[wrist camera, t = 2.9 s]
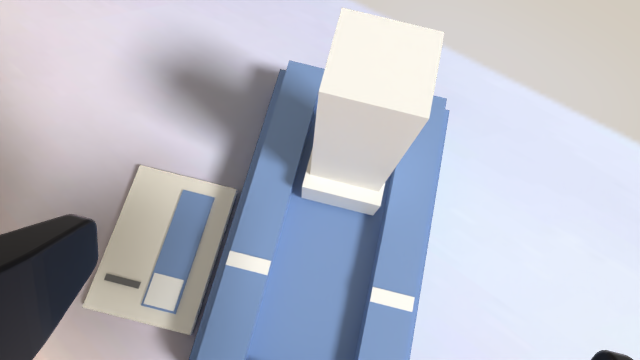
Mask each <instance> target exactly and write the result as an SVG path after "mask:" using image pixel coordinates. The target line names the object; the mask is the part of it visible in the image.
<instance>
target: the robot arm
mask: <svg viewBox="0 0 640 360" xmlns="http://www.w3.org/2000/svg"><path fill="white" fill-rule="evenodd" d="M97 260H98V242H97V227H96V223H95V221H94V220H92V219H90V218H86V217H82V216H78V215H74V214H68V215H64V216H61V217H58V218H55V219H51V220H48V221H45V222H41V223H38V224H35V225H31V226H28V227H25V228H21V229H18V230H15V231H11V232H8V233H5V234H1V235H0V360H33V358H34V357H35V356H36V354H37V353H38V352H39V351H40V349H41V348H42V347H43V345H44V344H45V343H46V341H47V340H48V338H49V337H50V335H51V334H52V333H53V331H54V330H55V328H56V326H57V325H58V323H59V322H60V320H61V319H62V317H63V316H64V314H65V313H66V311H67V310H68V308H69V307H70V305H71V304H72V302H73V301H74V299H75V298H76V296H77V294H78V293H79V291H80V290H81V288H82V287H83V285H84V284H85V282H86V281H87V279H88V278H89V276H90V275H91V273H92V272H93V270H94V268H95V266H96V264H97ZM591 360H633V359H632V358H630V357H628V356H626V355H624V354H620V353H616V352H612V351H608V350H601V351H599V352H597V353H596V354H595V355H594V356H593V358H592V359H591Z"/></svg>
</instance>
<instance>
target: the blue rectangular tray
mask: <svg viewBox="0 0 640 360" xmlns="http://www.w3.org/2000/svg"><path fill="white" fill-rule="evenodd" d="M324 70H325V69H323V68H318V67H314V66H310V65H306V64H302V63H298V62H294V61H290V60H289V63H288V67H287V70H286V71H285V70H281V69H280V72H279V75H278V78H277V82H276V85H275V88H274V91H273V94H272V97H271V101H270V104H269V107H268V110H267V113H266V116H265V120H264V123H263V126H262V129H261V132H260V135H259V139H258V142H257V145H256V148H255V151H254V154H253V158H252V161H251V164H250V167H249V170H248V173H247V177H246V180H245V183H244V186H243V189H242V192H241V196H240V199H239V202H238V205H237V208H236V211H235V215H234V218H233V221H232V224H231V227H230V230H229V234H228V237H227V240H226V243H225V246H224V249H223V253H222V256H221V259H220V262H219V265H218V268H217V272H216V275H215V278H214V281H213V284H212V287H211V291H210V294H209V297H208V300H207V303H206V306H205V310H204V313H203V316H202V319H201V322H200V325H199V329H198V332H197V335H196V338H195V341H194V344H193V348H192V351H191V354H190V357H189V360H410V353H411V347H412V341H413V335H414V328H415V322H416V316H417V310H418V304H419V297H420V291H421V285H422V279H423V272H424V266H425V260H426V254H427V247H428V241H429V235H430V229H431V222H432V216H433V210H434V204H435V198H436V191H437V185H438V179H439V173H440V166H441V160H442V154H443V148H444V141H445V135H446V129H447V123H448V116H449V110H445V106H446V100H447V99H446V98H442V97H438V96H434V95H433V100H432V106H431V112H430V117H429V120H428V121H427V123H426V124H425V126H424V127H423V128H422V130H421V131H420V133H419V134H418V136H417V137H416V139H415V140H414V141H413V143H412V144H411V146H410V147H409V149H408V150H407V151H406V153H405V154H404V156H403V157H402V159H401V160H400V162H399V163H398V164H397V166H396V167H395V169H394V170H393V172H392V173H391V175H390V176H389V177H388V179H387V180H386V182H385V186H384V191H383V196H382V201H381V206H380V207H379V209H378V210H377V211H376V212H375V214H374V215H373V216H372V215H368V214H364V213H360V212H356V211H352V210H348V209H344V208H340V207H336V206H332V205H328V204H324V203H320V202H316V201H312V200H308V199H304V198H301V197H302V185H303V181H304V177H305V174H306V170H307V166H308V163H309V159H310V155H311V151H312V148H313V141H314V132H315V122H316V112H317V103H318V93H319V89H320V85H321V81H322V78H323V74H324Z"/></svg>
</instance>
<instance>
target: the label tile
mask: <svg viewBox="0 0 640 360" xmlns="http://www.w3.org/2000/svg"><path fill="white" fill-rule="evenodd" d="M237 192H238V191H237V189H234V188H230V187H226V186H222V185H218V184H214V183H210V182H206V181H202V180H198V179H194V178H190V177H186V176H182V175H178V174H174V173H170V172H166V171H162V170H158V169H154V168H150V167H146V166H142V165H140V166H139V169H138V171H137V174H136V176H135V178H134V181H133V183H132V186H131V188H130V191H129V193H128V196H127V198H126V201H125V203H124V206H123V208H122V211H121V213H120V215H119V218H118V220H117V223H116V225H115V228H114V230H113V233H112V235H111V238H110V240H109V243H108V245H107V247H106V250H105V252H104V255H103V257H102V260H101V262H100V265H99V267H98V270H97V272H96V275H95V277H94V280H93V282H92V284H91V287H90V289H89V292H88V294H87V297H86V299H85V302H84V304H83V307H82V308H86V309H90V310H94V311H98V312H102V313H106V314H110V315H113V316H117V317H121V318H125V319H129V320H133V321H137V322H141V323H144V324H148V325H152V326H156V327H160V328H164V329H168V330H172V331H175V332H179V333H183V334H187V335H192V333H193V330H194V327H195V324H196V321H197V318H198V314H199V311H200V308H201V305H202V302H203V299H204V296H205V292H206V289H207V286H208V283H209V280H210V277H211V274H212V271H213V267H214V264H215V261H216V258H217V255H218V252H219V249H220V245H221V242H222V239H223V236H224V233H225V230H226V227H227V224H228V220H229V217H230V214H231V211H232V208H233V205H234V202H235V198H236V195H237Z"/></svg>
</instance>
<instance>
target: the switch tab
mask: <svg viewBox="0 0 640 360" xmlns="http://www.w3.org/2000/svg"><path fill="white" fill-rule="evenodd" d="M443 38H444V32H441V31H438V30H434V29H429V28H425V27H421V26H416V25H413V24H408V23H404V22H400V21H396V20H392V19H388V18H383V17H379V16H375V15H371V14H367V13H363V12H358V11H354V10H350V9H346V8H342V9H341V13H340V16H339V20H338V23H337V27H336V31H335V34H334V38H333V41H332V45H331V49H330V52H329V56H328V60H327V63H326V67H325V70H324V74H323V78H322V81H321V85H320V89H319V93H318V103H317V112H316V122H315V132H314V141H313V148H312V151H311V155H310V159H309V163H308V166H307V170H306V174H305V177H304V181H303V185H302V197H301V198H304V199H308V200H312V201H316V202H320V203H324V204H328V205H332V206H336V207H340V208H344V209H348V210H352V211H356V212H360V213H364V214H368V215H372V216H373V215H374V214H375V212H376V211H377V210H378V209H379V207H380V206H381V201H382V196H383V191H384V186H385V182H386V180H387V179H388V177H389V176H390V175H391V173H392V172H393V170H394V169H395V167H396V166H397V164H398V163H399V162H400V160H401V159H402V157H403V156H404V154H405V153H406V151H407V150H408V149H409V147H410V146H411V144H412V143H413V141H414V140H415V139H416V137H417V136H418V134H419V133H420V131H421V130H422V128H423V127H424V126H425V124H426V123H427V121H428V120H429V117H430V112H431V106H432V100H433V95H434V89H435V83H436V78H437V72H438V66H439V61H440V55H441V49H442V44H443Z"/></svg>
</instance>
